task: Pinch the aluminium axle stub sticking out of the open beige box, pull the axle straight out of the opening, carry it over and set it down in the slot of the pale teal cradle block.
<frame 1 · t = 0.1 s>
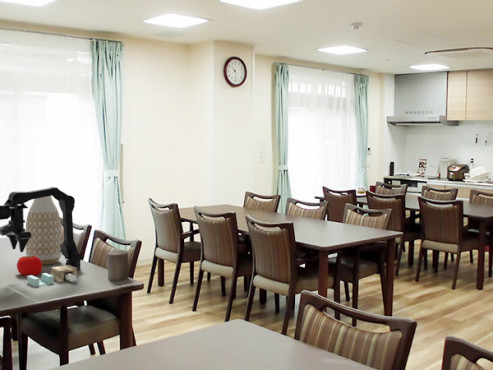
hand: (17, 250, 260), 15 cm above the table, fingers open, 9 cm apart
pillar candle: (117, 280, 266), on the table
open beige box: (63, 280, 264), on the table
tomato: (30, 276, 272), on the table
cradle: (40, 284, 255), on the table
vase: (44, 263, 299), on the table
axle: (67, 279, 262), point 1 cm above the table, touching open beige box
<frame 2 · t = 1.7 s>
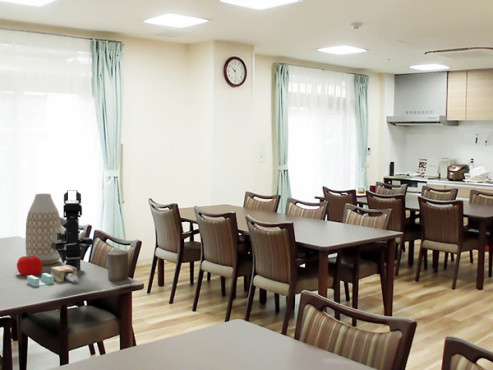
hand: (72, 261, 257), 11 cm above the table, fingers open, 9 cm apart
axle: (67, 279, 262), point 1 cm above the table, tilted 12°, touching open beige box
everything else where it was.
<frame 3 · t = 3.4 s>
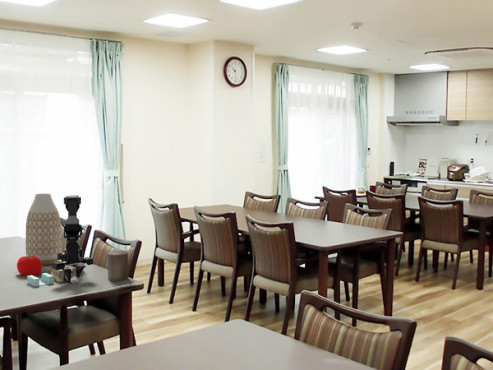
hand: (73, 281, 257), 1 cm above the table, fingers closed on axle, 3 cm apart
axle: (67, 279, 262), point 1 cm above the table, touching open beige box, gripper
everything else where it was.
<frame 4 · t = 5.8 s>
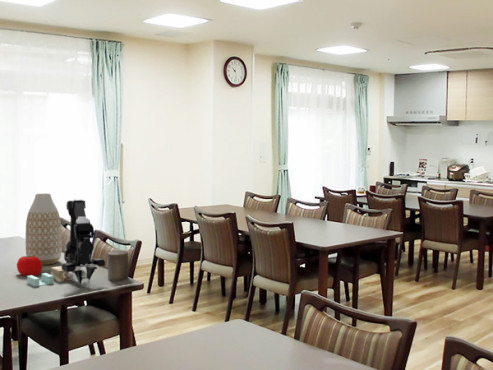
hand: (83, 283, 250), 3 cm above the table, fingers closed on axle, 3 cm apart
axle: (77, 282, 254), point 2 cm above the table, touching gripper
everything else where it was.
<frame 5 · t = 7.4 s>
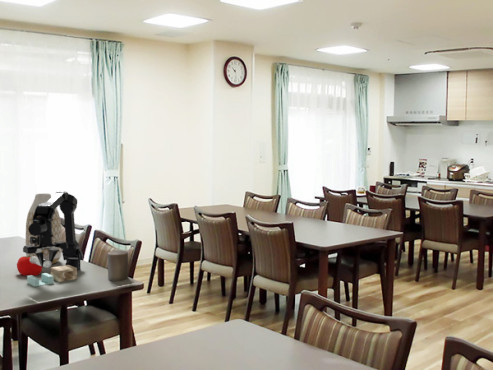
hand: (46, 265, 250), 10 cm above the table, fingers closed on axle, 3 cm apart
axle: (40, 265, 254), point 9 cm above the table, touching gripper
everything else where it was.
when the fingers open (4 cm above the table, at t = 8.4 s): axle drops 3 cm, resting on cradle.
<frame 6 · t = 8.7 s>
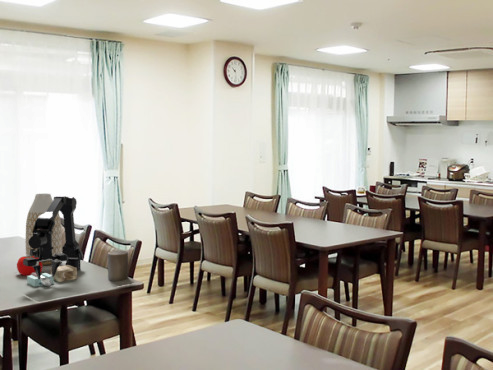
hand: (46, 278, 250), 4 cm above the table, fingers open, 6 cm apart
axle: (40, 282, 255), point 1 cm above the table, touching cradle
everything else where it was.
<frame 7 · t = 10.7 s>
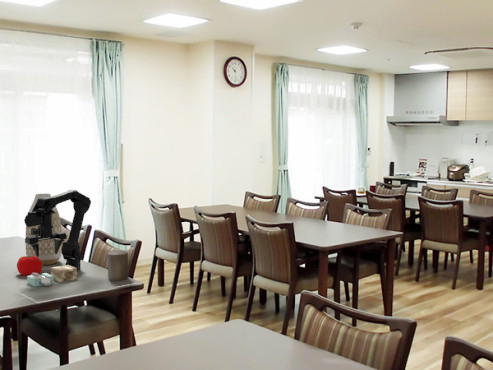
hand: (46, 255, 265), 12 cm above the table, fingers open, 9 cm apart
axle: (40, 282, 255), point 1 cm above the table, tilted 5°, touching cradle
everything else where it was.
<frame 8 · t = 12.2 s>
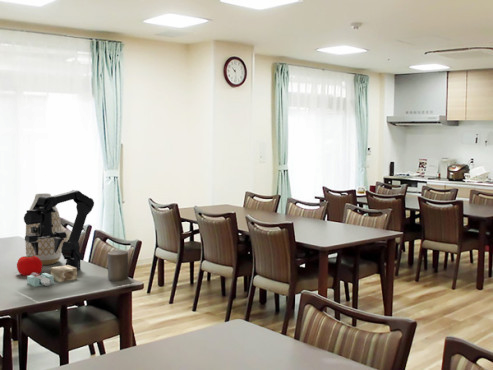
hand: (46, 253, 266), 12 cm above the table, fingers open, 9 cm apart
nothing on the table moved.
at the end: axle 0.3 cm off-centre on the cradle, point 1.0 cm above the cradle's base; the gripper is holding nothing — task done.
